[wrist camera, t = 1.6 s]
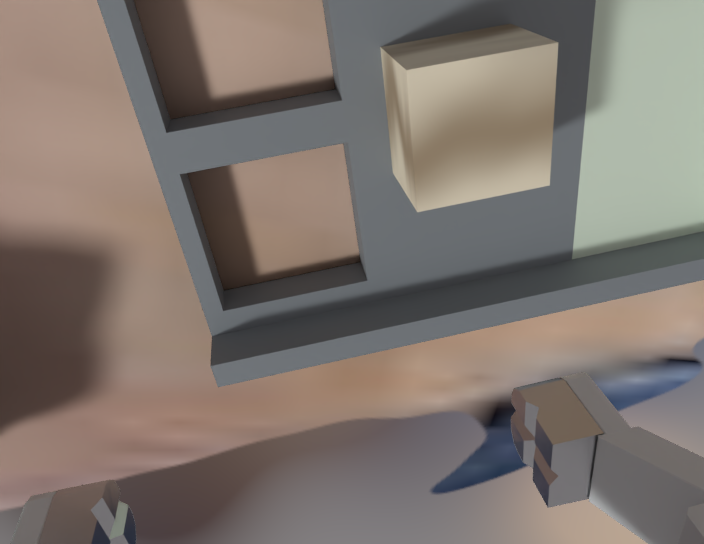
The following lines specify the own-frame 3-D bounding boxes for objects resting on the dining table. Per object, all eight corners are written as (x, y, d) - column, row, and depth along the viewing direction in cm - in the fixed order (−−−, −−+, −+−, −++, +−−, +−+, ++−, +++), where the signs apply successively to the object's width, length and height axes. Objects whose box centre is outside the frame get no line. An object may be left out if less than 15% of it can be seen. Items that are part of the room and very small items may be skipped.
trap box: (53, -166, 21) (14, -184, 17) (843, -279, 24) (958, -316, 20) (219, 335, 34) (218, 387, 30) (717, 228, 37) (773, 264, 33)
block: (380, 46, 25) (406, 70, 21) (510, 23, 26) (558, 42, 22) (392, 173, 29) (417, 212, 25) (508, 150, 29) (549, 185, 25)
